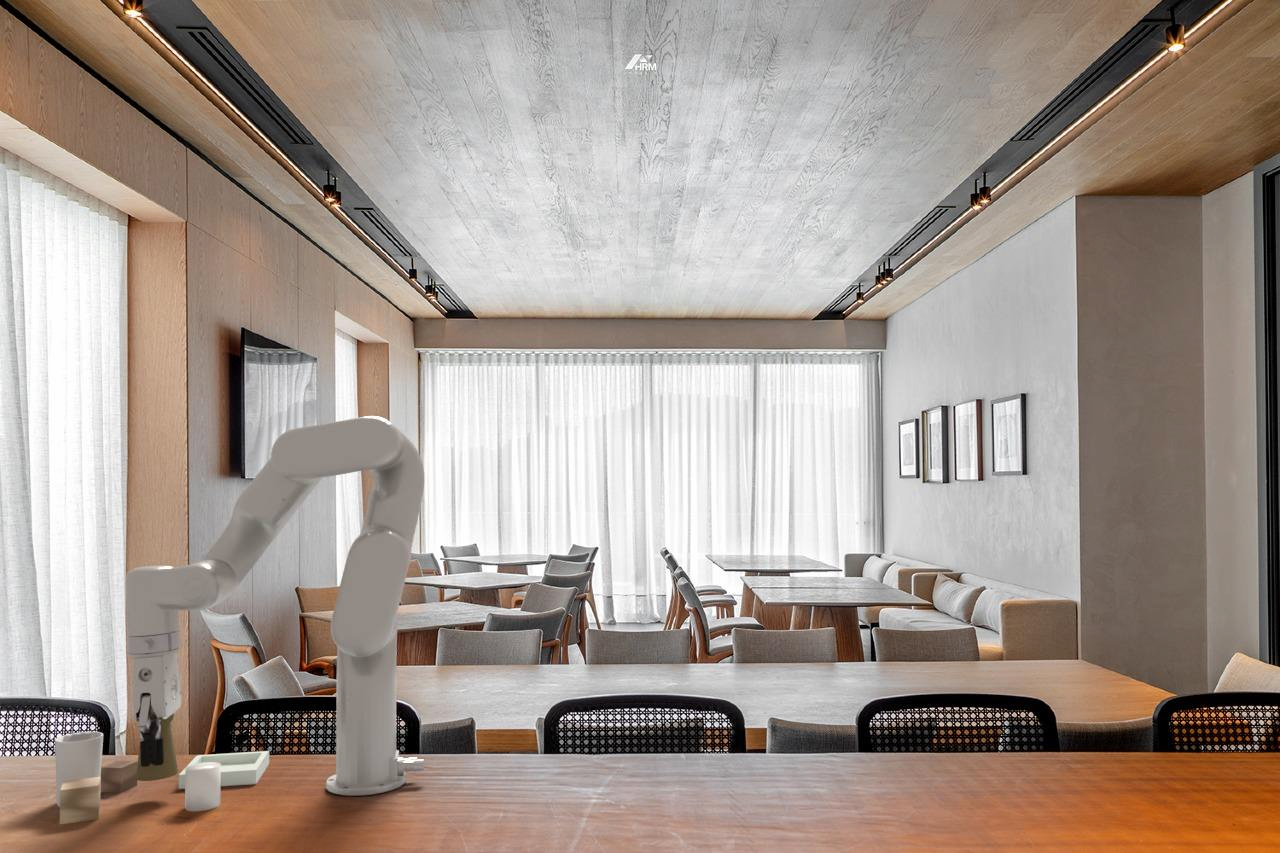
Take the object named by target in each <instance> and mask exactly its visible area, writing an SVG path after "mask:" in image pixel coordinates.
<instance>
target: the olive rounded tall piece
mask: <svg viewBox="0 0 1280 853" xmlns="http://www.w3.org/2000/svg"><path fill="white" fill-rule="evenodd" d="M139 715H140V714H139ZM174 716H175V712H174V713H173V714H172V715H171V716H170V717H168V718H167V719H162V717H161V738H163V746H164V763H163V764H162V765H157V766H155V765H153V764H151V763H150V765H149V766H147V767H142V766H141V750H140V746H139V748H138V749H139V750H138V756H137V757H138V758H137V761H138V764H137V773H136V780H137V781H138V782H152V781H158V780H165V779H168V778H171V777H174V776H176V775H178V774H179V767H178V762H177V756H176V751H175V749H176V748H175V744H174V739H173V731H172V728H171V726H170V723H171V722H172V721H174ZM150 719H157V716H156V715H150ZM138 723H139V722H138V721H137V724H138ZM172 723H173V722H172ZM151 725H154V726H155V728H156V723H151ZM171 731H172V732H171Z"/></svg>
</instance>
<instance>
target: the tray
mask: <svg viewBox="0 0 1280 853" xmlns="http://www.w3.org/2000/svg"><path fill="white" fill-rule="evenodd" d="M203 762H217V763H220V764H221V787H230V786H232V787H233V786H247V785H248V786H249V785H257V784H258V782H259V781H260V779H261V777H262V776H263V775H264V773H265V771H266V770H267V768H268V766H269V765H270V751H269V750H264V751H263V750H262V751H247V752H229V753H216V754H215V753H214V754H198V755H197V754H196V756H195V757H194V758H193V759H192V760H191V761H190V762H189V763H188V765H186V767H188V766H190V765H193V764H197V763H203ZM178 790H185V768H183V770H181V772H180V773H178Z"/></svg>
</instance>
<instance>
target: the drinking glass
mask: <svg viewBox="0 0 1280 853" xmlns="http://www.w3.org/2000/svg"><path fill="white" fill-rule="evenodd" d="M103 743H104V733H103V732H100V731H99V732H98V731H83V732H82V731H80V732H75V733H69V734H63V735H61V736H59V737H57V738H55V739H54V752H55V755H54V756H55V784H56V786H55V788H56V806H57V807H59V808H60V790H61V787H62V784H63V781H71V780H79V779H87V778H95V777H101V766H102V757H103V748H104V747H103V745H104V744H103Z"/></svg>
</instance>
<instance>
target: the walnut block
mask: <svg viewBox="0 0 1280 853" xmlns="http://www.w3.org/2000/svg"><path fill="white" fill-rule="evenodd" d="M137 764H138V760H113V761H111V762H108V763H107V764H104V765H101V792H100V793H117V794H118V793H119V794H120V793H123V792H126V791H129V789H133V788H134V787H137V786H138V780H136V773H137Z"/></svg>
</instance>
